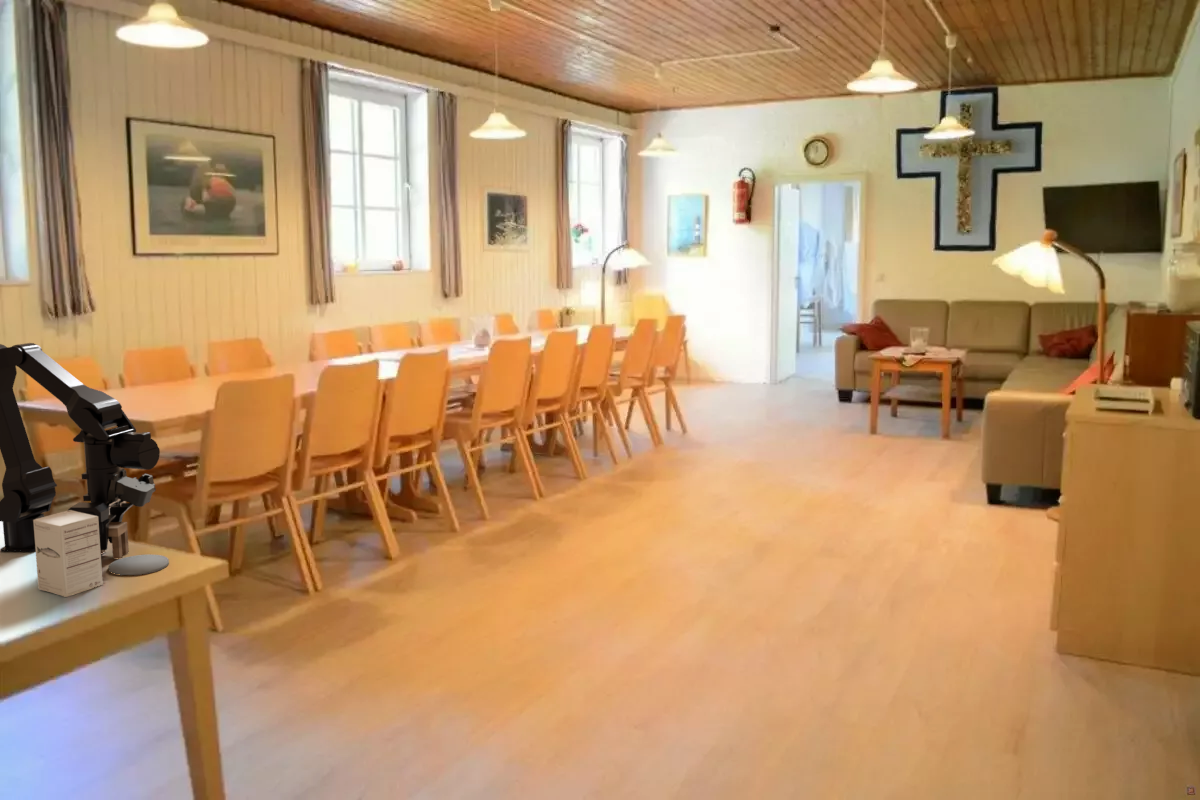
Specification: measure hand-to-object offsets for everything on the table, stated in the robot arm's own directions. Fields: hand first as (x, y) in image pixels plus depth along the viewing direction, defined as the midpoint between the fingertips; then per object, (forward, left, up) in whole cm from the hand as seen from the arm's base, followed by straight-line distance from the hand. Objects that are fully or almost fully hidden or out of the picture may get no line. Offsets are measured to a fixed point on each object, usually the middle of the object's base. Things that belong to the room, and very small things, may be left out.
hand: (108, 546), depth 189 cm
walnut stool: (0, 0, -2) cm, 2 cm away
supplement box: (+1, -17, -2) cm, 17 cm away
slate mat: (+8, -6, -2) cm, 10 cm away
